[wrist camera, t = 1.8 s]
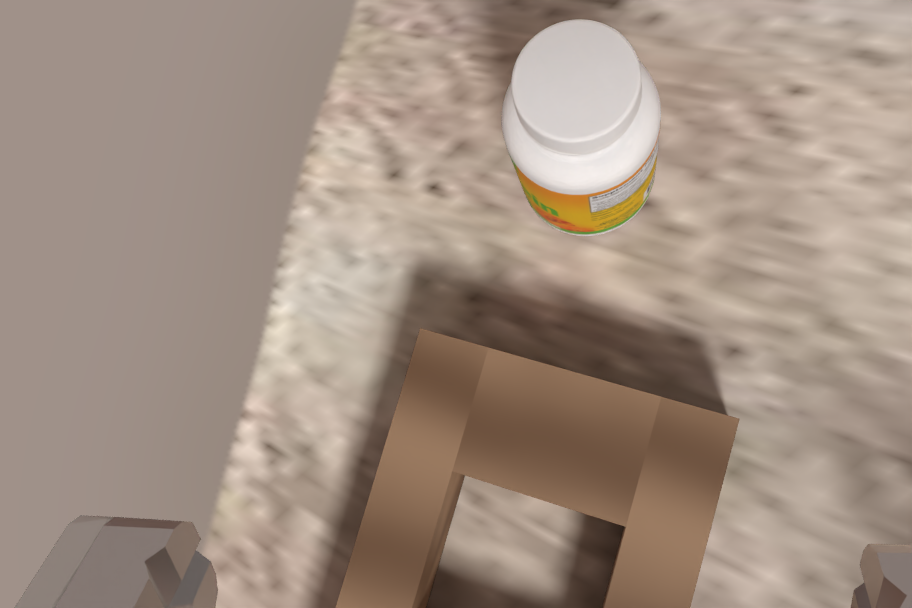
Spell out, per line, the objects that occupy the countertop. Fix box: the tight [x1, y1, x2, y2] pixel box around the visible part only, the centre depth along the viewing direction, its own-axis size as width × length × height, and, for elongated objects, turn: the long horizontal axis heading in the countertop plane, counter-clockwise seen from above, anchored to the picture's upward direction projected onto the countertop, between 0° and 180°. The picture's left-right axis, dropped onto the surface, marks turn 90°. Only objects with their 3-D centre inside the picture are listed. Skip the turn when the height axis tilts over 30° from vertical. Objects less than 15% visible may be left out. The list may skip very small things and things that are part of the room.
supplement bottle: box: [502, 19, 661, 236], centre depth 31 cm, size 5×5×10 cm
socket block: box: [335, 328, 739, 608], centre depth 32 cm, size 16×12×3 cm
